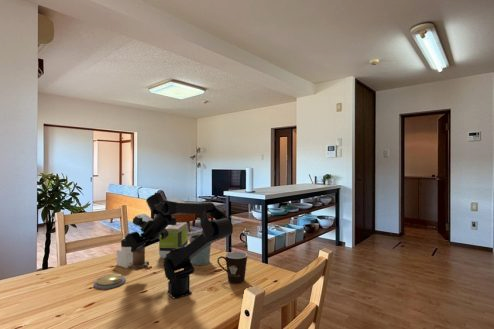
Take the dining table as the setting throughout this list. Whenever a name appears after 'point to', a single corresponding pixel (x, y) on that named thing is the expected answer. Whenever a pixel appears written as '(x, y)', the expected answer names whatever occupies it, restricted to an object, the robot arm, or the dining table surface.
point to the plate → (109, 285)
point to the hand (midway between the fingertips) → (136, 249)
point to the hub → (109, 279)
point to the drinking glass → (200, 254)
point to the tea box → (173, 239)
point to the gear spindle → (139, 260)
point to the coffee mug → (235, 266)
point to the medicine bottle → (124, 254)
